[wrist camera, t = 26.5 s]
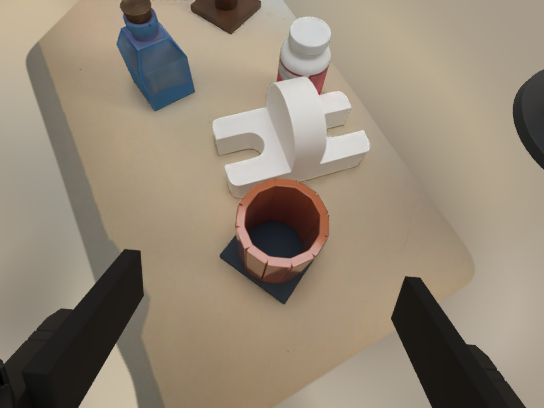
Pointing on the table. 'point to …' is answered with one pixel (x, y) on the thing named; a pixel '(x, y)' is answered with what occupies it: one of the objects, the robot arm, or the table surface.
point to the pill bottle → (306, 52)
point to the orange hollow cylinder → (282, 208)
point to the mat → (270, 254)
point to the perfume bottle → (153, 56)
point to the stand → (226, 12)
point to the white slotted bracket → (289, 137)
